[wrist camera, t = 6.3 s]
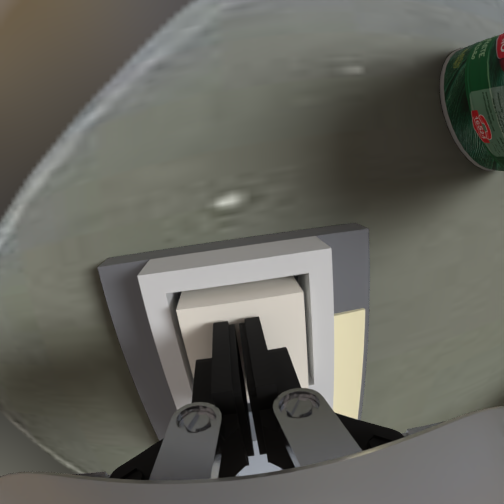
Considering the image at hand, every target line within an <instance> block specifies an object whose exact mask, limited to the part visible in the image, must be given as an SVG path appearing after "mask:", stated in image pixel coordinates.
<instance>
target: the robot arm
mask: <svg viewBox="0 0 504 504" xmlns="http://www.w3.org/2000/svg"><path fill="white" fill-rule="evenodd" d="M244 320H245V323H239V328H240V336H241V344H242V351H243V359H244V367H245V374H246V382H247V388H248V395H249V400H250V406H251V411H252V417H253V422H254V427H255V433H256V438H257V443H258V448H259V453H260V455H263V454H267V459H268V463H272V464H274V465H276V466H278V467H280V469H281V470H280V471H274V472H267V473H260V474H253V475H245V476H239V474H238V473H239V472H240V471H241V470H242V469H243V468H244V467H245V466H249V459H248V457H249V456H254V448H253V441H252V433H251V426H250V418H249V411H248V403H247V396H246V388H245V382H244V376H243V371H242V365H241V359H240V354H239V348H238V342H237V336H236V330H235V325H234V324H231V325H229V323H228V321H225V322H217V323H213V338H212V358H206V359H198V360H196V363H195V372H194V382H193V393H192V403H190V404H187V405H184V406H183V407H181V408H179V409H178V410H177V411H176V412H175V413H174V414H173V416H172V418H171V420H170V423H169V426H168V428H167V431H166V434H165V437H164V438H163V439H162V440H160V441H159V442H157V443H156V444H154V445H153V446H151V447H150V448H148V449H146V450H145V451H143V452H142V453H140V454H139V455H137V456H136V457H134V458H133V459H131V460H129V461H128V462H126V463H125V464H123V465H121V466H120V467H118V468H117V469H116V470H115V471H113V473H112V474H110V475H107V473H106V472H96V473H84V474H63V473H55V472H18V473H10V474H7V475H3V476H0V504H504V406H498V407H492V408H486V409H482V410H478V411H474V412H471V413H467V414H464V415H462V416H459V417H456V418H453V419H450V420H448V421H444V422H440V423H436V424H431V425H426V426H421V427H416V428H411V429H407V432H406V433H402V434H401V433H400V432H398V431H396V430H393V429H390V428H386V427H382V426H379V425H375V424H371V423H368V422H364V421H361V420H357V419H354V418H351V417H347V416H344V415H341V414H338V413H335V412H334V411H333V410H332V408H331V407H330V405H329V404H328V403H327V401H326V400H325V398H324V397H323V396H322V395H321V394H320V393H319V392H317V391H315V390H313V389H308V388H301V386H300V383H299V380H298V377H297V375H296V372H295V369H294V366H293V364H292V361H291V358H290V355H289V353H288V350H287V348H286V347H282V348H276V349H270V350H268V349H267V345H266V341H265V338H264V334H263V330H262V326H261V322H260V318H259V317H252V318H246V319H244Z"/></svg>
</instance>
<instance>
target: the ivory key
mask: <svg viewBox="0 0 504 504" xmlns="http://www.w3.org/2000/svg"><path fill="white" fill-rule="evenodd" d="M176 312H177V316H178V320H179V325H180V329H181V333H182V337H183V341H184V345H185V348H186V352H187V356H188V360H189V364H190V367H191V371H192V374H193V378H194V372H195V363H196V360H198V359H206V358H212V338H213V323H217V322H225V321H228V323H229V325H231V324H234V325H235V330H236V336H237V342H238V348H239V354H240V359H241V365H242V371H243V376H244V382H245V388H246V396H247V400H248V399H249V395H248V388H247V382H246V374H245V367H244V359H243V351H242V344H241V336H240V328H239V323H245V320H244V319H246V318H252V317H259V318H260V322H261V326H262V330H263V334H264V338H265V341H266V345H267V349H268V350H270V349H276V348H282V347H286V348H287V350H288V353H289V355H290V358H291V361H292V364H293V366H294V369H295V372H296V375H297V377H298V380H299V383H300V386H301V388H308V389H309V387H308V362H307V342H306V324H305V308H304V293H303V290H302V289H301V287H300V286H299V284H298V283H297V281H296V279H295V278H294V276H286V277H280V278H273V279H267V280H260V281H253V282H246V283H239V284H232V285H225V286H218V287H211V288H203V289H196V290H189V291H182V293H181V296H180V299H179V302H178V305H177V309H176Z"/></svg>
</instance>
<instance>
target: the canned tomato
mask: <svg viewBox="0 0 504 504" xmlns="http://www.w3.org/2000/svg"><path fill="white" fill-rule="evenodd" d="M440 98H441V104H442V109H443V114H444V117H445V120H446V123H447V126H448V128H449V130H450V133H451V135H452V137H453V139H454V141H455V142H456V144H457V146H458V147H459V149H460V150H461V152H462V153H463V154H464V155H465V156H466V157H467V159H468V160H470V161H471V162H472V163H473V164H474V165H476V166H478V167H480V168H482V169H484V170H489V171H496V170H498V171H504V33H503V34H501V35H498V36H494V37H492V38H490V39H486V40H483V41H481V42H477V43H475V44H473V45H470V46H468V47H465V48H459V49H457V50H455V51H453V52H452V53H451V54H450V55H449V56H448V57H447V59H446V60H445V62H444V64H443V67H442V71H441V75H440Z"/></svg>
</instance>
